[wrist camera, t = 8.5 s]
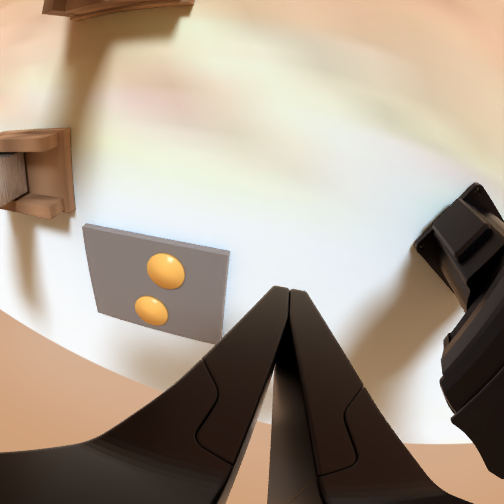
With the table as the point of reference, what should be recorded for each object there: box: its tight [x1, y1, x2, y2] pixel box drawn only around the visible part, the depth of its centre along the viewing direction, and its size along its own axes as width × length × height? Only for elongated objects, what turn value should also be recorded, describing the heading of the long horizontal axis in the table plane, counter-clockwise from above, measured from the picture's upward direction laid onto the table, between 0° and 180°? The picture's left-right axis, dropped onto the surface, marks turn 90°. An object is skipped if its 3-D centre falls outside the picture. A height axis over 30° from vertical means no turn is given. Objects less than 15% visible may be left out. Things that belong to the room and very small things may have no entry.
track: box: [0, 128, 76, 219], centre depth 19 cm, size 9×7×4 cm
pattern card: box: [82, 223, 230, 344], centre depth 24 cm, size 12×9×1 cm
